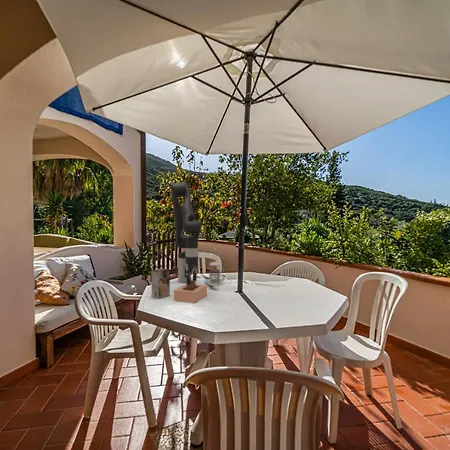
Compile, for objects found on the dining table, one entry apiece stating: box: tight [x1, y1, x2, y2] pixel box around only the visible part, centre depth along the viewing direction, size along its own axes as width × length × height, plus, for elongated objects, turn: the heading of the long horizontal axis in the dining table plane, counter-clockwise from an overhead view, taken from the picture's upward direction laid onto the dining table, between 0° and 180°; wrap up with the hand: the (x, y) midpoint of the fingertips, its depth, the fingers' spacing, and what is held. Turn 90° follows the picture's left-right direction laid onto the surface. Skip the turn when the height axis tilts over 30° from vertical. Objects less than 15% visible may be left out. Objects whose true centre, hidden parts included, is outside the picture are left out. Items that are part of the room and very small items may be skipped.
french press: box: [207, 247, 225, 286], centre depth 223 cm, size 10×12×25 cm
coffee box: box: [150, 267, 171, 299], centre depth 189 cm, size 9×6×16 cm
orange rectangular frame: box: [173, 283, 208, 304], centre depth 187 cm, size 18×13×6 cm
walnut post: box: [186, 279, 197, 291], centre depth 187 cm, size 4×4×10 cm
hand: (191, 282), depth 187 cm, fingers open, 8 cm apart
